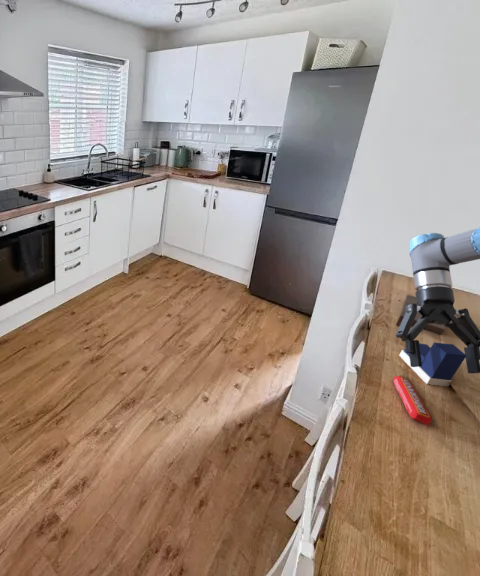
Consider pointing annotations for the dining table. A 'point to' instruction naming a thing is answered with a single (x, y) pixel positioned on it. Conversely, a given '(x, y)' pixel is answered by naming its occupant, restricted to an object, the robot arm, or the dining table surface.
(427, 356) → the two-tone navy white block
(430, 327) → the shoe shelf
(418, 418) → the candy bar
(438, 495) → the dining table surface
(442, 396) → the dining table surface
